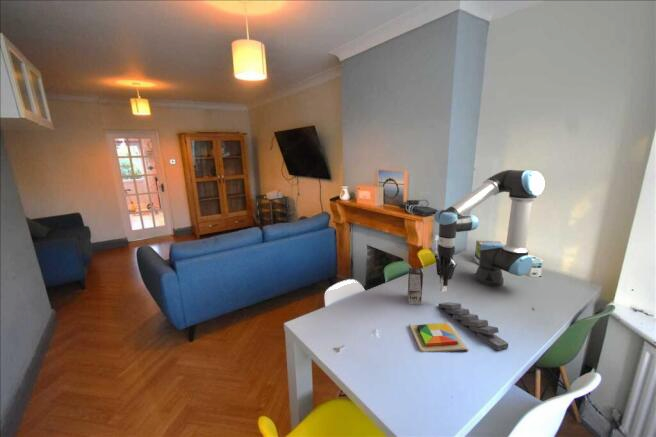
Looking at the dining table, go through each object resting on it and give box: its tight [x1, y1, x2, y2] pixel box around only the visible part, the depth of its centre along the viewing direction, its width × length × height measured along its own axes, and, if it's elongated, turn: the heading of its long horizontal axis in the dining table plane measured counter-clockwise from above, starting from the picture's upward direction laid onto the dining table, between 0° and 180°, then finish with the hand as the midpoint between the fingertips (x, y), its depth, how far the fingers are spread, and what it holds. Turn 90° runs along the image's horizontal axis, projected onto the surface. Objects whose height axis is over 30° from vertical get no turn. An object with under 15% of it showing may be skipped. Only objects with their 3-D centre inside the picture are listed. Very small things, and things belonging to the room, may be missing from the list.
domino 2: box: [444, 308, 470, 315], centre depth 132 cm, size 2×5×10 cm
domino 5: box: [468, 325, 500, 335], centre depth 118 cm, size 2×5×10 cm
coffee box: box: [407, 267, 424, 305], centre depth 146 cm, size 9×6×16 cm
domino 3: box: [452, 313, 480, 322], centre depth 127 cm, size 2×5×10 cm
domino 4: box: [460, 318, 490, 327], centre depth 122 cm, size 2×5×10 cm
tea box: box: [473, 240, 502, 265], centre depth 193 cm, size 15×10×15 cm, turn 81°
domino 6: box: [476, 332, 509, 351], centre depth 114 cm, size 2×5×10 cm
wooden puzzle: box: [408, 322, 469, 353], centre depth 117 cm, size 18×19×4 cm
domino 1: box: [438, 302, 462, 309], centre depth 136 cm, size 2×5×10 cm
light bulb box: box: [525, 254, 544, 278], centre depth 176 cm, size 11×7×11 cm, turn 179°
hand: (443, 290), depth 141 cm, fingers closed
